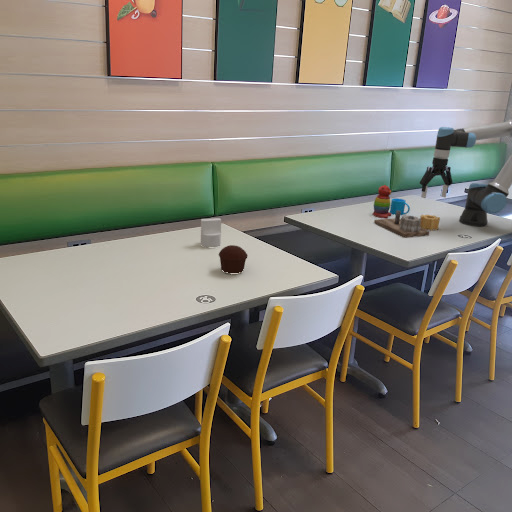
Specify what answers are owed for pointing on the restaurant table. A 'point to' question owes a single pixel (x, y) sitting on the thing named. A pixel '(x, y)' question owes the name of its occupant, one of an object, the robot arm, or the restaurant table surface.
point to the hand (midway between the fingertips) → (433, 197)
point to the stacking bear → (382, 203)
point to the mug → (398, 206)
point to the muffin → (232, 259)
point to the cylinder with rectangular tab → (211, 232)
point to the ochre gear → (429, 222)
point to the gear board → (396, 228)
